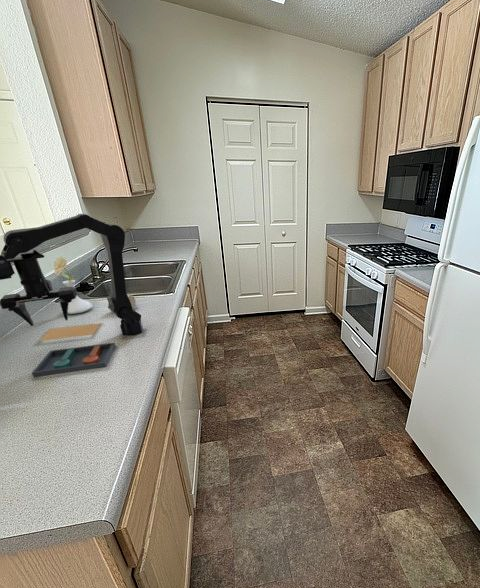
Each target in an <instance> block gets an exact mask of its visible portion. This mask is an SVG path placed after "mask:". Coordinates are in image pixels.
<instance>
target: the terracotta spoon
mask: <svg viewBox="0 0 480 588" xmlns="http://www.w3.org/2000/svg"><path fill="white" fill-rule="evenodd" d="M101 352H102V349H101V346H94V348H93V350H92V351H91V353H90V355H89V356H88V357H86V358H84V359H83V360H82V361H83V364H92V363H99V362H100V360H99V355H100V353H101Z"/></svg>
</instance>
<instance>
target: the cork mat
mask: <svg viewBox="0 0 480 588" xmlns="http://www.w3.org/2000/svg"><path fill="white" fill-rule="evenodd" d="M101 325H102V323H92V324H84V325H75V326H66V327H65V326H64V327H58V328H57V327H56V328H50V329H49V330H48V331H47V332H46V333H45V334H44V335H43V336H42V337H41V338H40V339H39V342H44V341H52V340H61V339H69V338H70V339H71V338H78V337H85V336H86V337H87V336H94V335H95V334H96V333H97V331H98V329H99V328H100V326H101Z"/></svg>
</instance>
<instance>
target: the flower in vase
mask: <svg viewBox="0 0 480 588" xmlns="http://www.w3.org/2000/svg"><path fill="white" fill-rule="evenodd" d="M67 261H68V260H67V259H66V258H65V257H64V256H63V255H61V256H57V258H56V259H55V260H54V261H53V268H52V269H53V272H54V274H55V275H57V276H60V275H61V276H62V277H63V278H66V279H68V280H64V281H62V283H61V284H63V285H64V286H65V287H74V288H75V285H76V279H75V278H74V277H73V274H72V273H70V272H69V271H68V269H67V267H68V262H67ZM65 272H66V273H67V274H68V275H67V274H65ZM75 289H76V288H75ZM92 308H93V304H92V303H91V302H90V301H88V300H86V299H83V298H81V297H79V296H78V294H77V295H76V298H75V299H72V301H71V302H69V304H68V315H69V314H70V315H72V314H73V315H75V314H81V313H85V312H87V311H89V310H91V309H92Z"/></svg>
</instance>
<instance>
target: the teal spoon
mask: <svg viewBox="0 0 480 588" xmlns="http://www.w3.org/2000/svg"><path fill="white" fill-rule="evenodd" d="M74 356H75V351H74V349H69V350H67V351H66V353H65V354H64V355H63V357H62V358H61V359H60V360H59V361H57V362H55V363H54V364H53V366H54V368H63V367H70V366H72V364H71V360H72V359H73V357H74Z"/></svg>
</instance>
